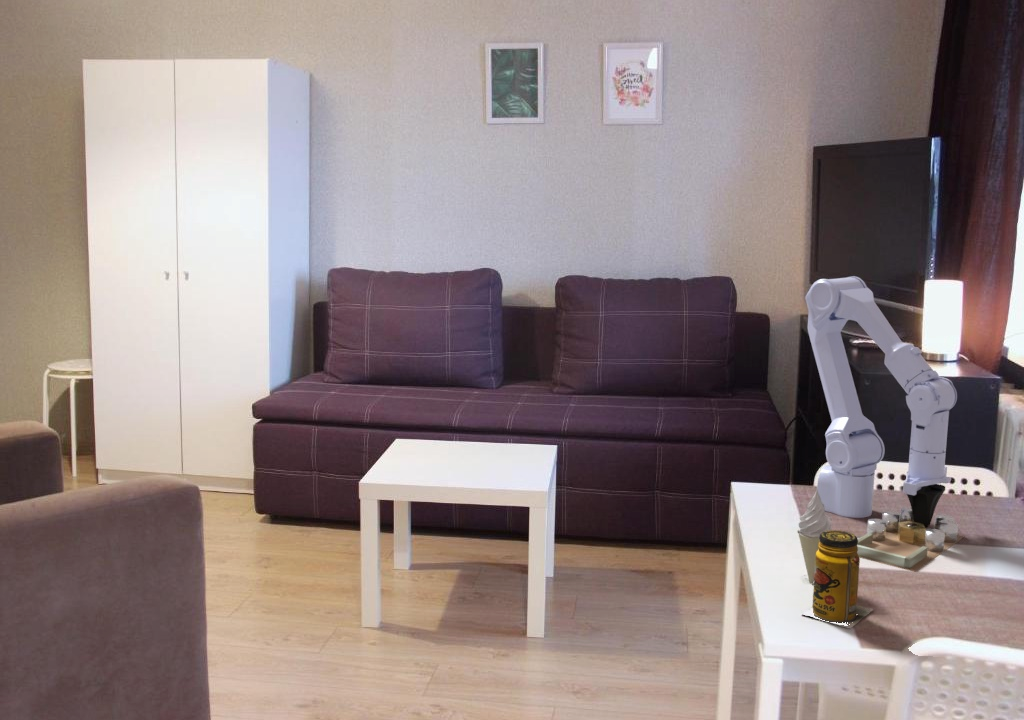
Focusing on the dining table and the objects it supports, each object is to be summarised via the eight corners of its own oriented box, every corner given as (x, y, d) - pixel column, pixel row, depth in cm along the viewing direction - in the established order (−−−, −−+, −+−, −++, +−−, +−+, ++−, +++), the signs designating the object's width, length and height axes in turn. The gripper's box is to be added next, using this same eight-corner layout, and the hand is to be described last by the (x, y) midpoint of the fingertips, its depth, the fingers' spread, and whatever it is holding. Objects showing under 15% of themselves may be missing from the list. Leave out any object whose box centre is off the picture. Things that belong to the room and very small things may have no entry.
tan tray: (839, 559, 175) (840, 543, 174) (893, 526, 191) (894, 511, 190) (914, 578, 166) (915, 562, 166) (964, 542, 183) (965, 527, 182)
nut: (900, 543, 179) (901, 528, 178) (896, 534, 183) (897, 519, 183) (925, 545, 178) (926, 530, 177) (921, 535, 182) (922, 521, 182)
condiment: (800, 615, 153) (805, 536, 150) (825, 598, 159) (830, 521, 157) (849, 630, 148) (855, 548, 146) (873, 611, 154) (879, 532, 152)
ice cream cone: (828, 579, 166) (835, 486, 163) (827, 591, 161) (833, 495, 159) (795, 574, 168) (801, 483, 165) (793, 586, 163) (798, 492, 160)
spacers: (863, 538, 181) (864, 521, 180) (894, 519, 191) (896, 503, 190) (936, 556, 173) (937, 538, 172) (964, 535, 183) (966, 519, 182)
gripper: (935, 462, 173) (929, 541, 176) (966, 445, 184) (960, 520, 186) (893, 454, 178) (887, 532, 180) (926, 438, 188) (920, 512, 191)
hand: (921, 525), depth 184 cm, fingers closed
